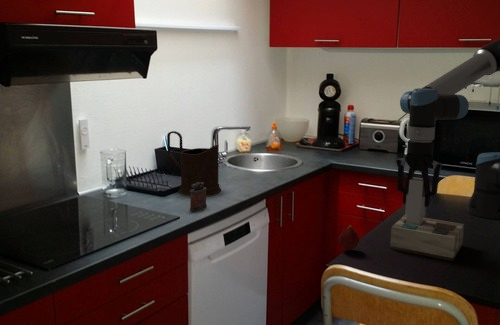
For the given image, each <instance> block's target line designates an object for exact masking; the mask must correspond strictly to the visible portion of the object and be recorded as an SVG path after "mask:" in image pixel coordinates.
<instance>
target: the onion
mask: <svg viewBox="0 0 500 325" xmlns="http://www.w3.org/2000/svg"><path fill="white" fill-rule="evenodd" d="M338 237H339V238H338V241H339V244H340V245H341V247H342V248H344V249H345V250H346V251H347V252H351V251H352V250H354V249H355V248H356V247H357V246H358V245H359V243H360V237H359V234H358V233H357V231H356V230H355V229H354V228H353V226H352V225H348V226H347V227H346V228H344V229H343V230H342V231H341V233H340V234H339V236H338Z"/></svg>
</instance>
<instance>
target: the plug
mask: <svg viewBox="0 0 500 325" xmlns="http://www.w3.org/2000/svg"><path fill="white" fill-rule="evenodd" d="M423 182H424V181H423V178H421V177H416V176H415V177H414V176H413V178H412V179H410V180H409V192H408V206H407V220H406V223H408V224H414V225H421V224H422V223H423V218H424V217H423V218H421V206H422V197H423V196H424V195H425V193H424V185H423Z"/></svg>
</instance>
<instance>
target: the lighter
mask: <svg viewBox="0 0 500 325" xmlns="http://www.w3.org/2000/svg"><path fill="white" fill-rule="evenodd" d="M192 188H194V189H192V190H190V196H189V197H190V199H189V200H190V203H189V205H190V206H189V211H191V212H197V211H200V210H201V211H202V210H205V209H206V208H207V206H208V205H207V196H206V190H207V188H206V187H204V183H203V182H201V183H199V182H197V183H196V184H192Z"/></svg>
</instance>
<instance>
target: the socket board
mask: <svg viewBox="0 0 500 325" xmlns="http://www.w3.org/2000/svg"><path fill="white" fill-rule="evenodd" d="M406 220H407V215H405V214H404V215H402V217H401V218H399V219H398V220H397V221H396V222H395V223H394V224H393V225H392V226H391V230H390V245H389V246H390V247H389V249H390V250H394V251H397V252H398V251H399V252H403V253H408V254H414V255H419V256H425V257H429V258H434V259H439V260H442V261H443V260H444V261H450V262H453V261H454V260H455V258H456V256H457V255H458V253H459V252H460V250H461V248H462V246H463V240H464V230H465V224H464V223H460V222H453V221H446V220H441V219H437V218H434V219H433V218H428V217H423V223H422V224H421V225H414V224H408V223H406Z"/></svg>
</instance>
